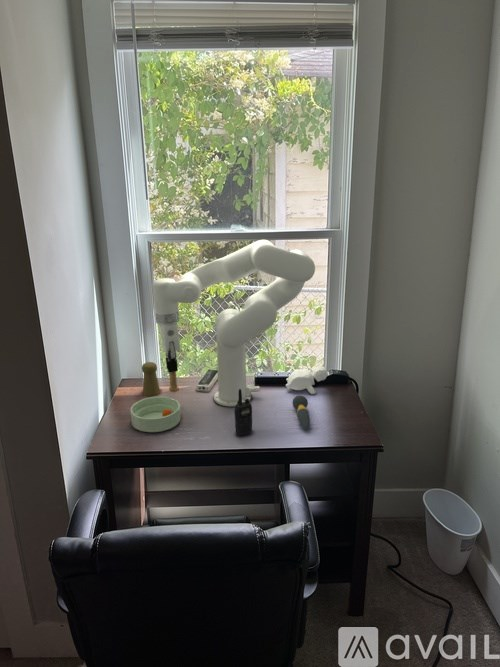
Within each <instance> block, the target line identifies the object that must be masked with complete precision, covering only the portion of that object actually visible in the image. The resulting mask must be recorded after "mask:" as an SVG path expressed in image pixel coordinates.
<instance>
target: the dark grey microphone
mask: <svg viewBox="0 0 500 667" xmlns="http://www.w3.org/2000/svg"><path fill="white" fill-rule="evenodd" d="M291 403H292V407H293V408H294V410H296V416H297V420H298V423H299V425H300V426H301V428H302V429H303V430H304V431H309V429H310V426H311V418H310V412H309V410H308V409H307V407H308V406H309V401H308V398H307V397H305V396H304V395H302V394H298V395H295V396H294V398H293V399H292V402H291Z"/></svg>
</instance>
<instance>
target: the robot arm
mask: <svg viewBox="0 0 500 667" xmlns="http://www.w3.org/2000/svg"><path fill="white" fill-rule="evenodd" d="M256 272H263V273H265V274H267V275H270V276H274V277H277V278H276V279H274V280H273V281H272V282H270V283H269V284H267V285H266V286H264V287H263V288H261V289H260V290H258V291H256V292H255V293H253V294H251V295H250V296H249V297H247V299H246V300H245V302H244V309H242V310H240V311H239V310H237V309H234V308H225V309H223V310H222V311H221V312H219V314H218V315H217V316H216V320H215V333H216V334H215V335H216V338H215V339H216V354H217V355H216V359H217V361H216V362H217V370H218V379H217V389H218V391H216V392H215V393H214V395H213V399H214V402H215V403H217V404H218V405H220V406H223V407H235V405H237V402H238V401H239V389H241V392H242V402H245V399H249V402H250V401H251V399H252V395H251V394H252V393H259V392H261V388H260V386H259V385H256V386H255V384H254V383H253V384H247V358H246V356H247V346H246V344H247V343H248V342H250V341H251V340H253V339H255V338H257V337H258V336H260V335H261V334H263V333H264V332H266V331H267V330H269V329H270V328H271V327H272V326H273V325H274V324H275V322H276V320H277V317H278V311H280V309H282V308H283V307H285V306H287V305H288V304H289V303H290V302H292V301H294V300H295V298H297V296H298V295H300V293H301V291H302V290H303V288H304V286H305V283H306V282H308V281H309V280H311V279H312V278H313V277H314V275H315V272H316V264H315V261H313V259H312V258H311V257H310V256H309V255H308V254H307V253H306V252H305V251H303V250H301V249H292V250H287V249H284V248H281V247H278V246H276V245H275V244H274V243H272V241H270V240H268V239H259V240H256V241H254V242H252V243H250V244H248V245H246V246H244V247H242V248H240V249H238V250H236V251H234V252H232V253H229V254H227V255H225V256H223V257H220V258H217V259H215V260H213V261H212V260H211V261H210V262H207V263H204V264H202V265H200V266H198V267H195V268H194V269H191V270H189V271H187V272H185V273H184V274H182V276H180V277H179V279H178V281H176V280H175V279H174V278H171V277H161V278H158V279H155V280H154V281H153V282H152V285H151V286H152V287H151V288H152V296H153V297H152V298H153V306H154V317H155V323H156V324H158V325H159V329H160V339H161V344H162V349H163V350H164V352H165V353H164V354H165V364H166V370H167V372H168V373H169V372H176V373H177V372H178V371H179V367H178V359H177V353H181V342H180V334H179V326H178V323H179V322H180V309H179V303H180V304H181V303H182V304H194V303H196V302H197V301H198V300H199V299H200V298H201V296H202V291H204V290H205V289H207V288H209V287H211V286H214V285H217V284H221V283H235V282H238V281H240V280H242V279H244V278H246V277H248V276H250V275H252V274H255V273H256ZM169 354H171V355H170V356H169Z"/></svg>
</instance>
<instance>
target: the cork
mask: <svg viewBox="0 0 500 667" xmlns="http://www.w3.org/2000/svg"><path fill="white" fill-rule="evenodd" d="M141 371H142V373H143V384H142V394H143V395H144V396H148V397H154V396H157V395H158V394H160V393H161V389H160V385H159V381H158V376H157V371H158V366H157V364H156V363H155V362H153V361H147V362H145V363H143V364H142V366H141Z"/></svg>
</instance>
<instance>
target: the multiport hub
mask: <svg viewBox="0 0 500 667" xmlns="http://www.w3.org/2000/svg"><path fill="white" fill-rule="evenodd" d="M216 382H218V369H207V370H206V372H205V373H204V375H203V376H202V377H201V379H200V380H199V381H198V383H197V384H196V391H197V392H204V393H209V392H210V391H211V389H212V388H213V387H214V385H215V384H216Z"/></svg>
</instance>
